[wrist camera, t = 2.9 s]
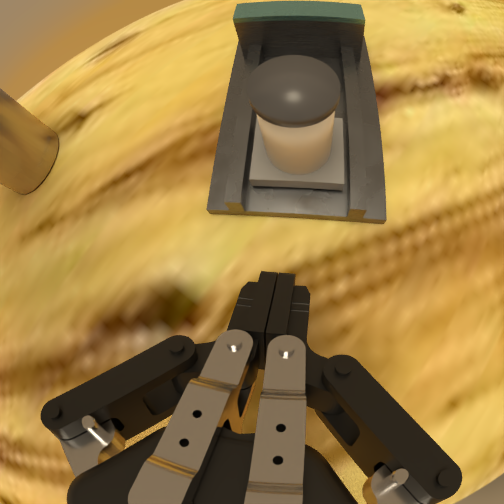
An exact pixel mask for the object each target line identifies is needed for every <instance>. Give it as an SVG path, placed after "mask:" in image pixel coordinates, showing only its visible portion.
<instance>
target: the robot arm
mask: <svg viewBox="0 0 504 504" xmlns="http://www.w3.org/2000/svg"><path fill="white" fill-rule="evenodd" d="M58 145H59V143H58V137H57V135H56V133H55V132H54V131H52V130H51V129H50V128H49V127H47V126H46V125H45V124H44V123H42V122H41V121H40V120H38V119H37V118H36V117H35V116H34V115H32V114H31V113H30V112H29V111H27V110H26V109H25V108H24V107H22V106H21V105H20V104H19V103H18V102H16V101H15V100H14V99H13V98H11V97H10V96H9V95H8V94H6V93H5V92H4V91H3V90H2V89H0V184H2V185H4V186H6V187H8V188H10V189H12V190H14V191H16V192H18V193H20V194H27V193H29V192H31V191H33V190H34V189H35V188H36V187H38V186H39V185H40V184H41V182H42V181H43V180H44V179H45V177H46V176H47V174H48V173H49V171H50V169H51V167H52V165H53V163H54V160H55V158H56V155H57V151H58ZM309 305H310V293H309V291H308V289H307V287H306V286H295V274H290V273H279V274H278V273H277V272H265V271H261V273H260V277H259V280H258V282H248V283H247V284H246V285H245V286H244V287H243V288H242V289H241V291H240V294H239V297H238V300H237V303H236V306H235V308H234V311H233V314H232V317H231V320H230V323H229V326H228V328H227V331H226V332H224V333H222V334H221V335H220V336H219V337H218V338H217V340H216V341H213V342H210V343H202V344H194V342H193V341H192V340H191V339H190V338H189V337H186V336H182V335H176V336H172V337H170V338H168V339H166V340H164V341H162V342H160V343H159V344H157V345H155V346H153V347H151V348H149V349H148V350H146V351H144V352H142V353H140V354H138V355H136V356H135V357H133V358H131V359H129V360H127V361H125V362H123V363H122V364H120V365H118V366H116V367H114V368H112V369H110V370H108V371H106V372H105V373H103V374H101V375H99V376H97V377H95V378H93V379H91V380H89V381H87V382H85V383H83V384H81V385H79V386H78V387H76V388H74V389H72V390H70V391H68V392H66V393H64V394H62V395H60V396H58V397H56V398H54V399H52V400H50V401H48V402H47V403H46V404H45V405H44V407H43V409H42V411H41V420H42V423H43V424H44V426H45V427H46V428H48V429H49V430H50V431H51V432H52V433H53V434H54V435H55V436H56V437H57V438H58V439H59V440H60V442H61V445H62V447H63V450H64V452H65V455H66V457H67V459H68V462H69V464H70V466H71V468H72V470H73V473H74V475H75V477H76V478H75V479H74V480H73V481H72V483H71V485H70V487H69V489H68V493H67V504H358V503H357V501H356V500H355V499H354V497H353V496H352V495H351V493H350V492H349V491H348V489H347V488H346V487H345V485H344V484H343V482H342V481H341V480H340V478H339V477H338V475H337V474H336V473H335V471H334V470H333V469H332V467H331V466H330V464H329V463H328V461H327V460H326V459H325V458H324V457H323V456H322V455H321V454H320V453H319V452H318V451H316V450H315V449H313V448H312V447H310V446H308V445H306V444H305V431H306V406H308V407H311V408H313V409H315V412H316V414H317V415H318V416H319V418H320V419H321V420H322V422H323V423H324V424H325V425H326V427H327V428H328V429H329V430H330V432H331V433H332V434H333V435H334V437H335V438H336V439H337V440H338V442H339V443H340V444H341V445H342V447H343V448H344V449H345V450H346V452H347V453H348V454H349V455H350V457H351V458H352V459H353V460H354V461H355V463H356V464H357V465H358V466H359V468H360V469H361V470H362V471H363V472H364V474H365V475H366V476H367V477H368V479H367V480H366V482H365V483H364V485H363V489H362V493H363V497H364V499H365V501H366V503H367V504H436V503H439V502H441V501H443V500H445V499H447V498H449V497H451V496H452V495H454V494H455V493H456V492H457V491H458V489H459V487H460V485H461V482H462V473H461V470H460V468H459V466H458V465H457V464H456V463H455V462H454V461H453V460H452V459H451V458H450V457H449V456H448V455H447V454H446V453H445V452H444V451H443V450H442V449H441V447H440V446H439V445H438V444H437V443H436V442H435V441H434V440H433V439H432V438H431V437H430V436H429V435H428V434H427V433H426V432H425V431H424V430H423V429H422V428H421V427H420V426H419V425H418V423H417V422H416V421H415V420H414V419H413V418H412V417H411V416H410V415H409V414H408V413H407V412H406V411H405V410H404V409H403V408H402V407H401V406H400V405H399V404H398V403H397V402H396V401H395V399H394V398H393V397H392V396H391V395H390V394H389V393H388V392H387V391H386V390H385V389H384V388H383V387H382V386H381V385H380V384H379V383H378V382H377V381H376V380H375V379H374V378H373V377H372V375H371V374H370V373H369V372H368V371H367V370H366V369H365V368H364V367H363V366H362V365H361V364H360V363H359V362H358V361H357V360H356V359H355V358H353V357H351V356H348V355H335V356H333V357H331V358H329V359H328V358H325V357H322V356H320V355H317V354H316V353H314V352H313V351H312V350H311V349H310V348H309V346H308V344H307V328H308V317H309ZM258 369H264V370H265V374H264V382H263V390H262V392H261V396H260V402H259V410H258V418H257V425H256V433H251V434H241V430H242V423H243V419H244V416H245V414H246V411H247V408H248V405H249V402H250V399H251V396H252V393H253V390H254V387H255V380H256V377H257V373H258ZM172 414H173V415H172ZM170 415H172V417H171V419H170V421H169V423H168V425H167V426H166V427H163V428H161V429H159V430H157V431H155V432H153V433H152V434H150V435H149V436H147V437H145V438H144V439H142V440H140V441H139V442H137V443H135V444H134V445H132V446H130V447H128V448H127V449H125V450H124V448H125V441H126V440H128V439H130V438H132V437H134V436H136V435H137V434H139V433H141V432H143V431H145V430H146V429H148V428H150V427H152V426H153V425H155V424H157V423H159V422H160V421H162V420H164V419H165V418H167V417H169V416H170Z"/></svg>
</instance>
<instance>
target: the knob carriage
mask: <svg viewBox="0 0 504 504" xmlns="http://www.w3.org/2000/svg"><path fill="white" fill-rule="evenodd" d="M246 89H247V94H248V98H249V101H250V105H251V107H252V109H253V110H254V111H255V113H256V114H257V120H256V128H255V136H254V144H253V152H252V161H251V169H250V177H249V180H250V182H251V185H252V186H272V187H295V188H313V189H329V190H343V187H344V142H343V120H342V118H334V116H335V109H336V108H337V106H338V103H339V99H340V81H339V78H338V76H337V75H336V73H335V72H334V71H333V69H331V68H330V67H329V66H328V65H327V64H325V63H323V62H322V61H320V60H317V59H315V58H312V57H308V56H302V55H285V56H279V57H276V58H272V59H270V60H268V61H266V62H264V63H262V64H261V65H259V66H258V67H257V68H256V69H255V70H254V71H253V72H252V73H251V75H250V77H249V79H248V82H247V88H246Z"/></svg>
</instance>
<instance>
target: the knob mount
mask: <svg viewBox="0 0 504 504" xmlns="http://www.w3.org/2000/svg"><path fill="white" fill-rule="evenodd" d="M233 21H234V25H235V28H236V32H237V35H238V39H239V42H238V46H237V50H236V55H235V59H234V64H233V68H232V73H231V78H230V83H229V87H228V92H227V97H226V102H225V107H224V112H223V117H222V123H221V128H220V133H219V139H218V144H217V150H216V155H215V161H214V167H213V173H212V179H211V185H210V191H209V197H208V204H207V211H208V212H209V213H210V214H231V215H254V216H275V217H293V218H309V219H325V220H339V221H353V222H366V223H378V224H384V222H385V221H386V195H385V177H384V163H383V152H382V141H381V132H380V124H379V116H378V108H377V102H376V95H375V89H374V83H373V77H372V72H371V66H370V61H369V56H368V51H367V47H366V42H365V38H364V36H363V35H364V26H365V17H364V14H363V10H362V7H361V5H359V4H349V3H337V2H320V1H271V2H254V3H242V4H237V6H236V9H235V13H234V16H233ZM285 55H302V56H308V57H312V58H315V59H317V60H320V61H322V62H323V63H325V64H327V65H328V66H329V67H330V68H331V69H333V71H334V72H335V73H336V75H337V76H338V78H339V81H340V99H339V103H338V106H337V108H336V109H335V116H334V118H342V120H343V142H344V187H343V190H329V189H313V188H295V187H272V186H252V185H251V182H250V180H249V177H250V169H251V161H252V152H253V144H254V136H255V128H256V120H257V114H256V113H255V111H254V110H253V109H252V107H251V105H250V101H249V98H248V94H247V89H246V88H247V82H248V79H249V77H250V75H251V73H252V72H253V71H254V70H255V69H256V68H257V67H258V66H259V65H261V64H262V63H264V62H266V61H268V60H270V59H272V58H276V57H279V56H285Z"/></svg>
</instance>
